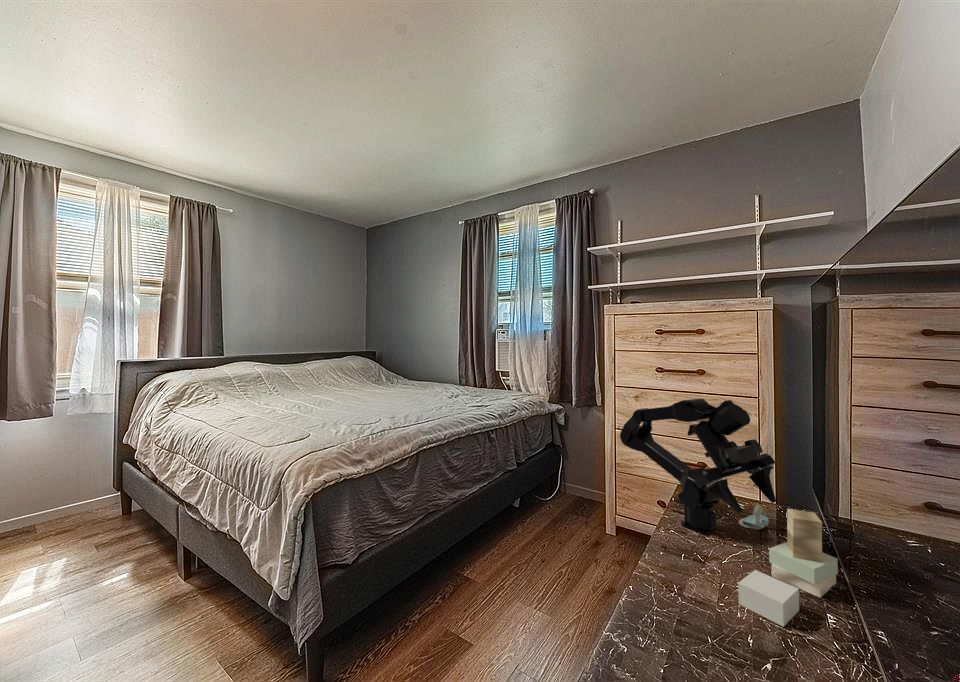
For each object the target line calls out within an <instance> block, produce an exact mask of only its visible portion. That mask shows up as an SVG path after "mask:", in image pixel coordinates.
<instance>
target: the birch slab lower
mask: <svg viewBox="0 0 960 682" xmlns="http://www.w3.org/2000/svg"><path fill="white" fill-rule="evenodd" d="M770 566H771V577H773V578H775V579H777V580H780V581H782V582H784V583H787V584H789V585H791V586H794V587H796V588H798V589H799V590H802V591H804V592H807V593H809V594H811V595H813V596H815V597H818V598H822V597H823V596H824V595H826V593H827V592H828V591H830V590H831V589H832V588H833V587H834V586H835V585H836V584H837V574H836V575H834V576H832V577H830V578H827V579H825V580H823V581H821V582H819V583H817V584H815V585H814V584H812V583H810V582H808V581H806V580H804V579H802V578H800V577H798V576H796V575H794V574H792V573H790V572H788V571H786V570H784V569H781V568H779V567H777V566H775V565H773V564H771V565H770ZM833 585H834V586H833ZM832 586H833V587H832ZM831 587H832V588H831ZM830 588H831V589H830Z"/></svg>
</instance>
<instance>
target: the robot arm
mask: <svg viewBox="0 0 960 682" xmlns="http://www.w3.org/2000/svg"><path fill="white" fill-rule="evenodd" d="M663 420H664V421H665V420H675V421H678V422H685V423H690V422H692V423H693V422H698V421H700V422H698V423H697V424H689V427H688V431H687V436H689V437H690V436H696V437H697V438H698V440H699V441H700V443H701V445H702V447H703V448H704V450H705V451H706V452H705V453H704V456H705V457H706V458H710V459H711V461H712V462H713V464H714V466H715V467H714V466H713V467H711V468H704V467H702V466H701V467H697V468H691V467H690V466H689V465H688V464H686V463H685V462H684V461H682V460H681V459H679V458H678V457H677V456H676V455H674V454H672V453H671V452H669V451H668V450H667V449H665V448H664V447H663V446H662V445H660V444H659V443H658V442H656V441H655V440H654V437H653V434H652V431H653V424H652V422H653V421H663ZM750 423H751V417H750V415H749V413H748V412H747V411H746V410H745V409H743V407H741V406H739V405H738V404H735V403H734V402H733V401H732V400H731V399H730V400H724V401H722V402H721V403H720V404H719V405H718V406H717V407H716V406H714V405H712V404H709V403H708V401H706V400H705V398H693V399H692V398H691V399H684V400H682V399H681V400H680V401H677V402H675V403H673V404H671V405H669V406H660V407H655V408H654V407H653V408H639V409H638V408H637V409H636V410H634V412H633V414H632V416H631V417H630V418H629V419H628V420H627V421H626V422H625V423H624V425H623V427H622V428H621V431H620V433H619V438H620V441H621V443H622V444H623V445H625V446H626V447H627V448H629V449H631V450H634V451H637V452H641V453H643V454H644V455H646V456H647V457H648V458H649V459H650V460H652V461H653V462H654V463H655V464H657V465H658V466H659V467H660V468H662V469H663V470H664V471H666V472H667V473H669V475H671V476H672V477H673V478H675V479H676V480H677V481H678V482H679V484H680V486H681V489H682V491H680V493H678V494H677V499H678V501H679V504H681V505H683V506H684V507H683V510H684V513H683V514H684V521H682V522H681V524H680V525H681V526H682V527H683V528H684V527H685V528H687V529H689V530H692V531H694V532H697V533H699V534H701V535H705V536H706V535H707V536H708V535H709V534H710V533H712V532H714V531H716V530H717V529H718V528H719V526H718V525H717V512H715V505H718V504H719V503H720V500H721V501H722V502H724V503H725V504H727V506H729V507H730V508H731V509H732V510H734V511H735V512H737V513H738V514H741V513H743V509H742V508H741V505H740V504H739V501H738V500H737V499H736V498H735V496H734V494H733V493H732V491H731V490H730V488H729V483H728V478H727V477H732V476H735V475H738V474H742V473H748V474H750V475H749V476H748V477H749V479H750V480H751V481H752V483H754V484H755V486H756V487H757V488H758V489H759V491H760V492H761V493H762V494H763V495H764V497H766V499H767V500H769V502H771V504H775V503H776V502H777V499H776V495H775V493H774V492H775V491H774V489H773V485H772V482H771V478H770V477H771V471H772V470H774V465H775V464H776V463H777V462H776V460H775V459H774V458H773V457H772V455H770V454H768V453H763V452H764V451H763V448H762V446H761V444H760V443H759V442H758V440H756V439H749V440H745V441H744V444H743V445H738V444H737V443H736V441H733V440H731V441H730V440H729V439H728V438H727V436H731V435H733V434H735V433H736V432H737V431H740V430H741V429H743V428H745V426H748V425H749V424H750ZM641 424H642V425H641Z"/></svg>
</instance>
